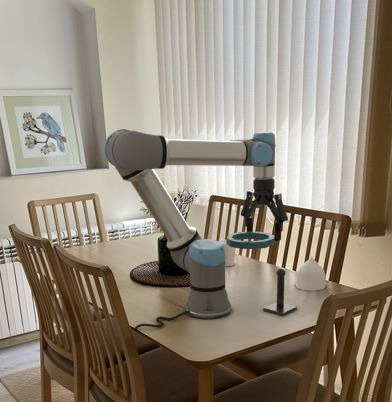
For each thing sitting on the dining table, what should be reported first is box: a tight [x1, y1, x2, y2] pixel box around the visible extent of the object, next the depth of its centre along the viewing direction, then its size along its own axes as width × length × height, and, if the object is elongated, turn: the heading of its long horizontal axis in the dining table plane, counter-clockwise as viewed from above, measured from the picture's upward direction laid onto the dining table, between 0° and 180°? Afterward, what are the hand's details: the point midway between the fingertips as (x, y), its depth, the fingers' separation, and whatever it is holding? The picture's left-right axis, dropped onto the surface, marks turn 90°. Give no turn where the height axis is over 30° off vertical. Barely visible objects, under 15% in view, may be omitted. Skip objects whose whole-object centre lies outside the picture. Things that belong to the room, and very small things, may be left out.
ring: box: [225, 231, 276, 250], centre depth 194 cm, size 17×17×2 cm
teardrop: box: [295, 255, 326, 292], centre depth 205 cm, size 11×11×12 cm
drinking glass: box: [217, 239, 236, 267], centre depth 236 cm, size 8×8×10 cm
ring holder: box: [262, 267, 298, 317], centre depth 181 cm, size 8×8×14 cm
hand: (263, 238), depth 200 cm, fingers closed on ring, 12 cm apart
